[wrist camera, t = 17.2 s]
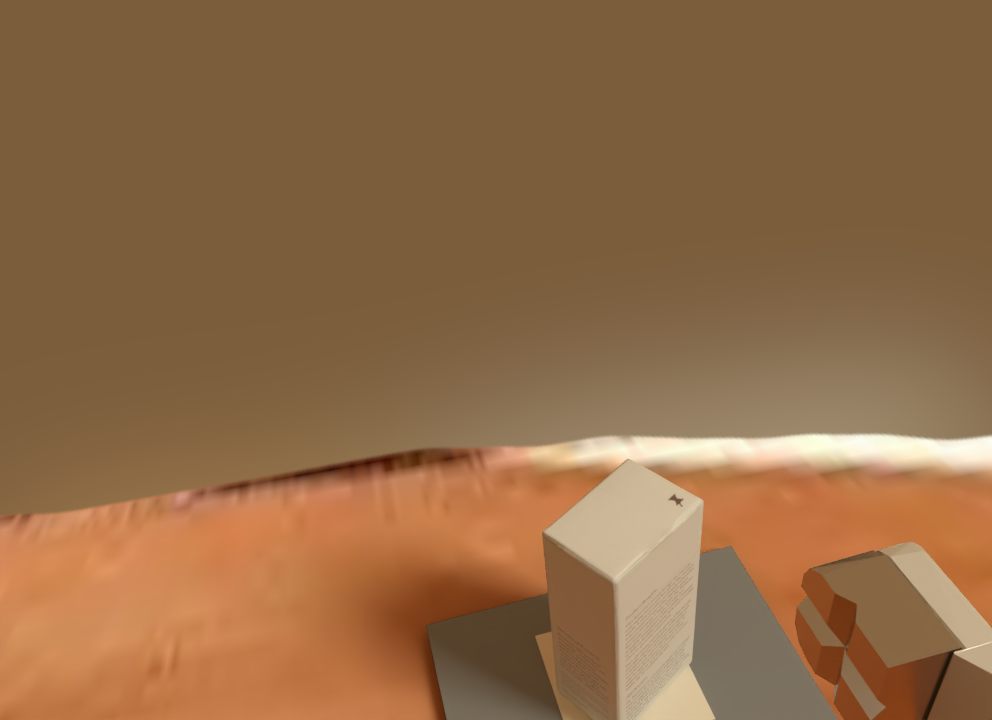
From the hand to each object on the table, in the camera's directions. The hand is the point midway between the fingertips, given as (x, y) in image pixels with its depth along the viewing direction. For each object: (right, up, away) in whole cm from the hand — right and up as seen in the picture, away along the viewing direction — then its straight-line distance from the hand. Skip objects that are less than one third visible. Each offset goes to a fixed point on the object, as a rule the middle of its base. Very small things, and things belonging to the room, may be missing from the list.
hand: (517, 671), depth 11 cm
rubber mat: (+6, -12, +33) cm, 35 cm away
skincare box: (+6, -12, +32) cm, 35 cm away
